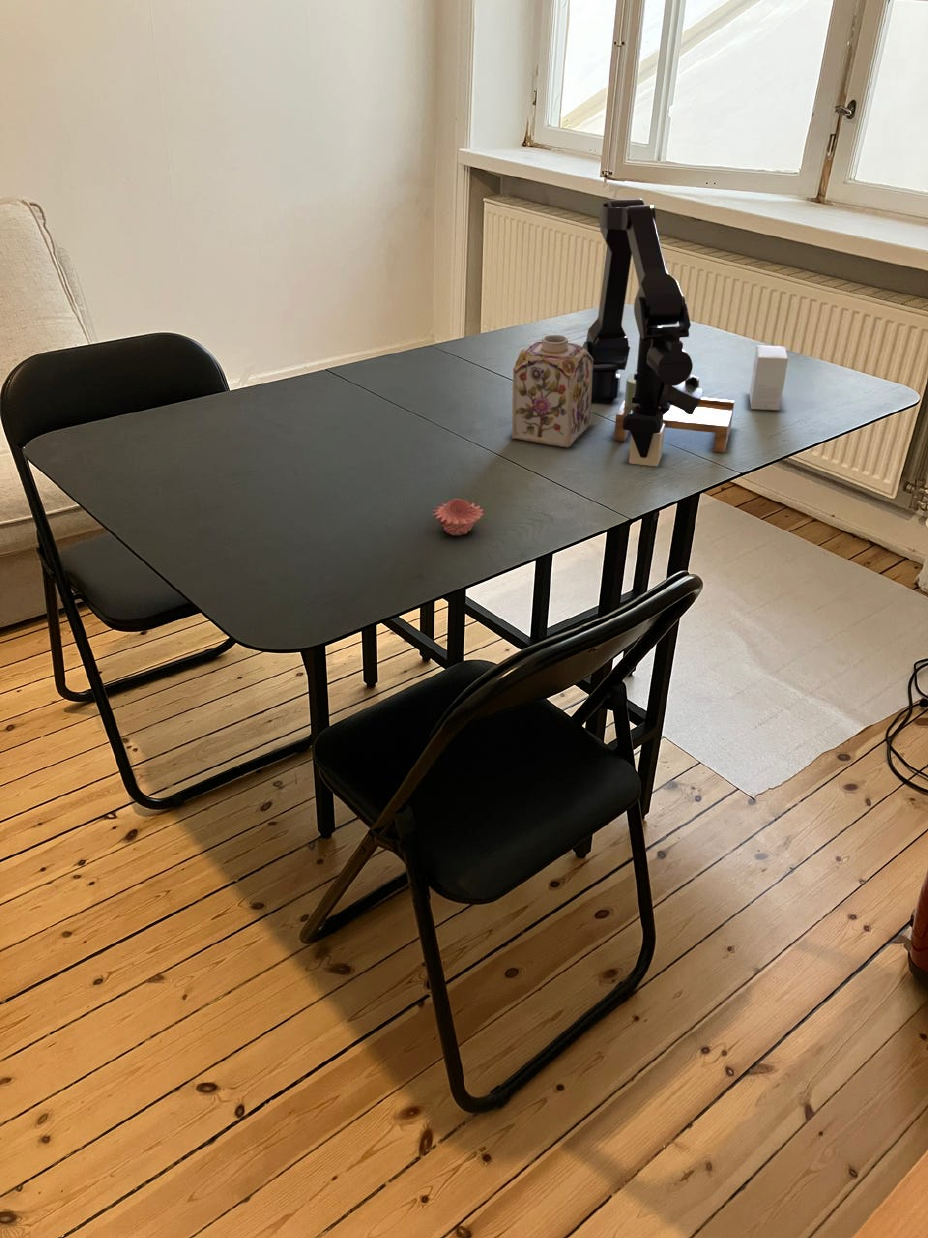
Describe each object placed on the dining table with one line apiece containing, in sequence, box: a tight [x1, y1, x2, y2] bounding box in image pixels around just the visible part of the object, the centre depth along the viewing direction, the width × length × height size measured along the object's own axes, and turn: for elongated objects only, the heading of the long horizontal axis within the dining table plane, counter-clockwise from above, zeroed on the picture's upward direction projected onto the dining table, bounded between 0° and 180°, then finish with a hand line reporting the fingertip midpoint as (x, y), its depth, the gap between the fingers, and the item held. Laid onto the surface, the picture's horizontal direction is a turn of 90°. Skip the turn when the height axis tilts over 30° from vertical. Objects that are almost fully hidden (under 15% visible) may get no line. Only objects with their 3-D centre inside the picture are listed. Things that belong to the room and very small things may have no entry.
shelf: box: [613, 397, 735, 453], centre depth 185 cm, size 20×11×6 cm, turn 72°
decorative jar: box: [511, 334, 594, 448], centre depth 184 cm, size 12×12×18 cm
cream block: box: [628, 424, 666, 467], centre depth 176 cm, size 5×5×6 cm
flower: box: [432, 498, 485, 536], centre depth 154 cm, size 8×8×6 cm
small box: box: [749, 344, 789, 411], centre depth 197 cm, size 8×6×10 cm
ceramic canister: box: [624, 375, 636, 409], centre depth 185 cm, size 5×5×5 cm
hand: (646, 451), depth 177 cm, fingers closed on cream block, 5 cm apart
